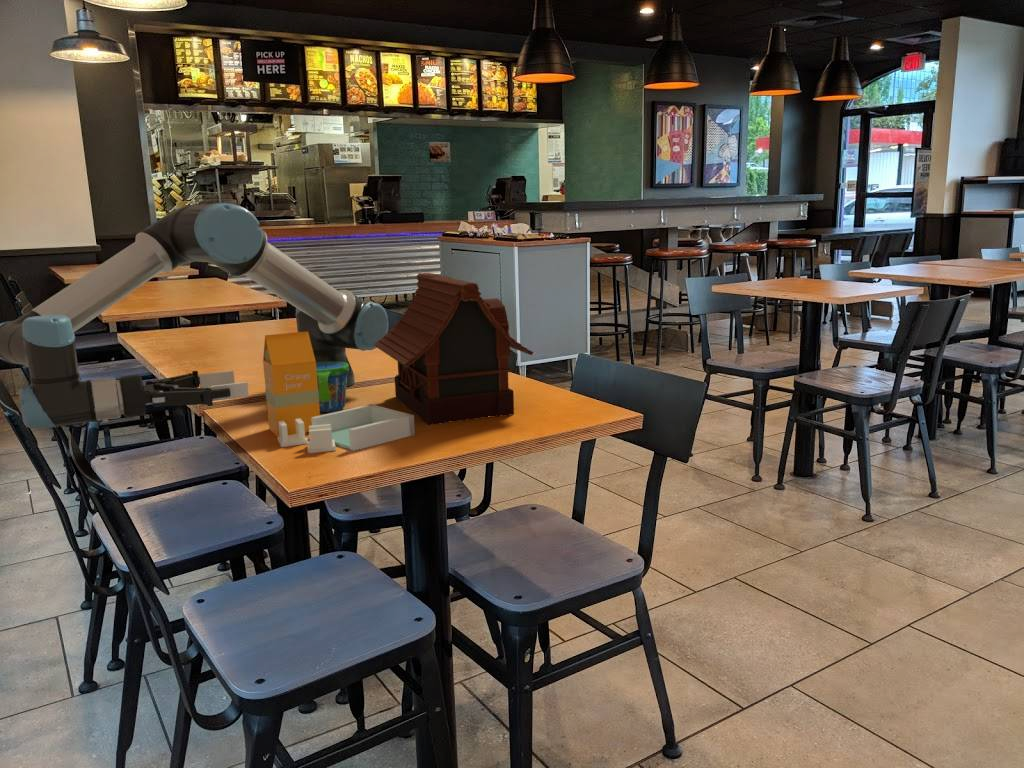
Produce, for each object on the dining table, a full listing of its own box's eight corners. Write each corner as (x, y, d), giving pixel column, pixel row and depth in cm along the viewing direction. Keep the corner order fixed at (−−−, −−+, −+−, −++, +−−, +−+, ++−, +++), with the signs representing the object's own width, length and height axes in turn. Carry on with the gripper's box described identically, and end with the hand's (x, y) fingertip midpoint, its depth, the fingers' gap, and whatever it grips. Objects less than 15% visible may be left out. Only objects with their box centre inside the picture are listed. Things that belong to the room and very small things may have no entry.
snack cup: (311, 402, 183) (307, 359, 181) (356, 400, 184) (353, 358, 182) (297, 419, 168) (293, 372, 166) (346, 417, 169) (342, 371, 166)
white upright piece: (308, 453, 143) (306, 432, 142) (307, 445, 148) (306, 425, 147) (335, 450, 144) (334, 429, 143) (334, 443, 149) (333, 423, 148)
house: (537, 414, 167) (535, 279, 161) (409, 430, 157) (401, 286, 151) (482, 384, 199) (479, 269, 193) (373, 395, 189) (365, 275, 182)
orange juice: (321, 430, 158) (314, 333, 154) (277, 437, 154) (268, 337, 150) (310, 422, 165) (303, 329, 161) (268, 428, 161) (259, 333, 156)
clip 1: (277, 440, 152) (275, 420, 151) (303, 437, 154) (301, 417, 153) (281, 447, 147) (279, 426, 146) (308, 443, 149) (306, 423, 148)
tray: (372, 422, 163) (371, 404, 162) (414, 434, 153) (413, 415, 152) (312, 436, 154) (311, 417, 153) (353, 451, 144) (352, 430, 143)
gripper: (118, 404, 154) (230, 390, 164) (128, 432, 132) (255, 414, 143) (113, 366, 152) (226, 355, 162) (122, 389, 131) (252, 374, 141)
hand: (240, 383), depth 152 cm, fingers open, 13 cm apart
